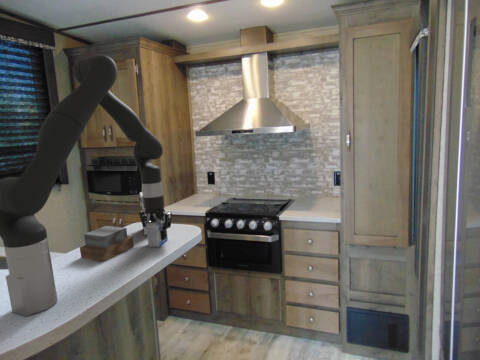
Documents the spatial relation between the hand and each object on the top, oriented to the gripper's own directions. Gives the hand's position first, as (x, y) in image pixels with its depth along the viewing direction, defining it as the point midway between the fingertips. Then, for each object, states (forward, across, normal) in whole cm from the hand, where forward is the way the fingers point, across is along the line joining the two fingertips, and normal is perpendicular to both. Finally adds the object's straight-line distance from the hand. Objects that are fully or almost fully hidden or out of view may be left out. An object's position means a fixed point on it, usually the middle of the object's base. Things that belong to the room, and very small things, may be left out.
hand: (157, 238), depth 128 cm
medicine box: (+2, 0, 0) cm, 2 cm away
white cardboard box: (+2, -14, +11) cm, 18 cm away
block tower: (+2, -12, -13) cm, 18 cm away
